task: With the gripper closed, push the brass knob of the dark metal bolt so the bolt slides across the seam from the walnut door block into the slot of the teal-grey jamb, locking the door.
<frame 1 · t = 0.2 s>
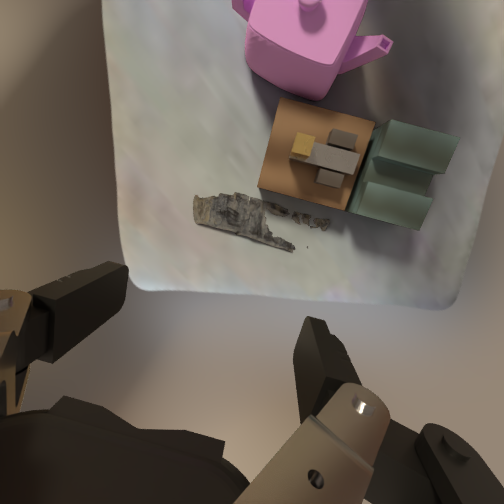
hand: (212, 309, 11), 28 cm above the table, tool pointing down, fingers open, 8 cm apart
driftwood: (257, 222, 39), on the table
door and jamb: (339, 168, 35), on the table
bolt: (325, 154, 28), point 7 cm above the table, slide at 0.0 cm
teapot: (301, 53, 32), on the table
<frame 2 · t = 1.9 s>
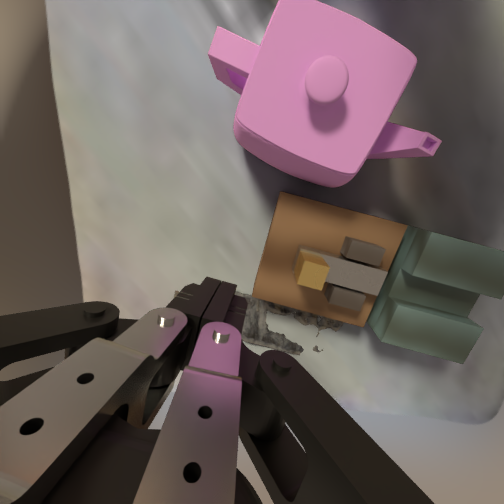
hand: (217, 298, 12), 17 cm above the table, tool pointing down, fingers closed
driftwood: (253, 318, 31), on the table
door and jamb: (355, 263, 28), on the table
bolt: (342, 275, 21), point 7 cm above the table, slide at 0.0 cm
teapot: (308, 125, 25), on the table
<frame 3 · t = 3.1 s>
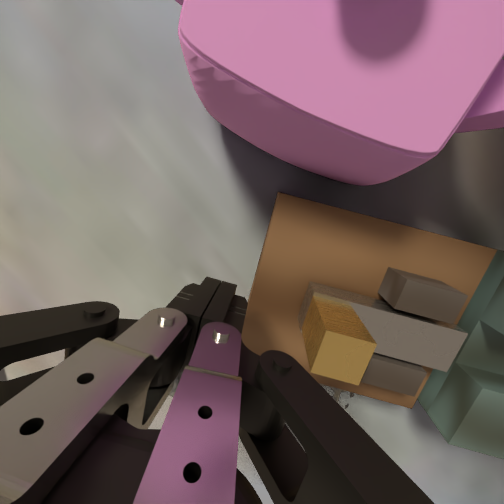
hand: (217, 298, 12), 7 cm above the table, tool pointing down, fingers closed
door and jamb: (393, 300, 18), on the table
bolt: (388, 342, 12), point 7 cm above the table, slide at 0.0 cm
teapot: (323, 86, 16), on the table
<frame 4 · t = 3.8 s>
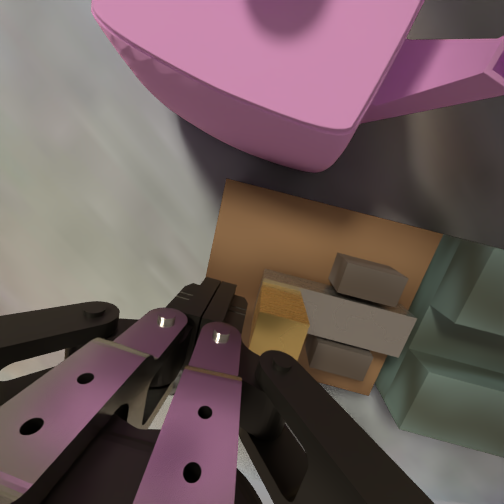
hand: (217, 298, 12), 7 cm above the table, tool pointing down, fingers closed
door and jamb: (355, 289, 18), on the table
bolt: (336, 326, 12), point 7 cm above the table, slide at 0.3 cm, touching gripper
teapot: (277, 74, 16), on the table
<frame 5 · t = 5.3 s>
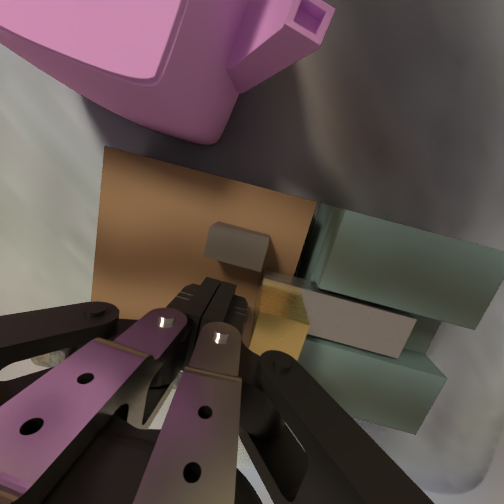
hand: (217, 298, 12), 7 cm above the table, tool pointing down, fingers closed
driftwood: (136, 346, 22), on the table
door and jamb: (265, 266, 18), on the table
bolt: (336, 327, 12), point 7 cm above the table, slide at 7.3 cm, touching gripper
teapot: (174, 48, 16), on the table
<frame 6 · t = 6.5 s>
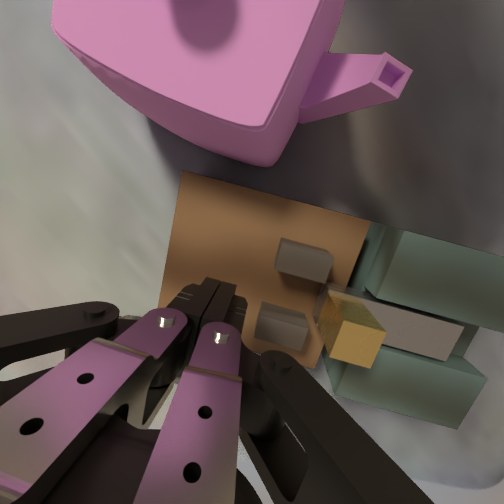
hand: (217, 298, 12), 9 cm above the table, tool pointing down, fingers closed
door and jamb: (309, 275, 20), on the table
bolt: (395, 333, 14), point 7 cm above the table, slide at 7.4 cm
teapot: (235, 80, 18), on the table
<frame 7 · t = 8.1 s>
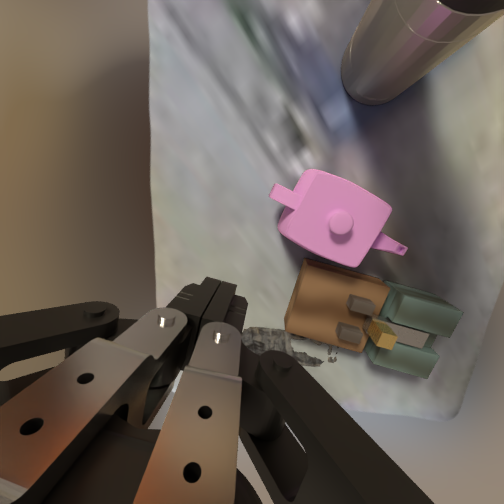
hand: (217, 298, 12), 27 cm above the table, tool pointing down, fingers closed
driftwood: (281, 344, 43), on the table
door and jamb: (356, 306, 40), on the table
bolt: (400, 336, 33), point 7 cm above the table, slide at 7.4 cm
teapot: (325, 216, 37), on the table
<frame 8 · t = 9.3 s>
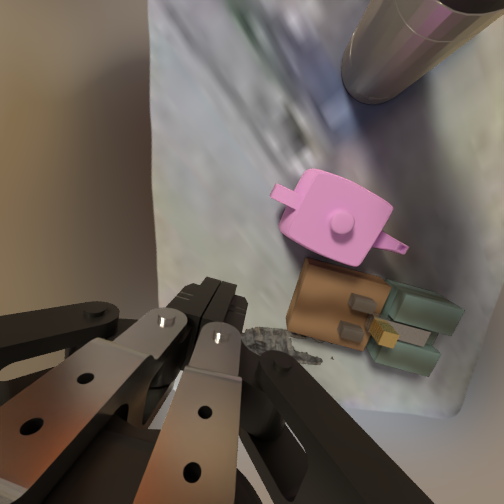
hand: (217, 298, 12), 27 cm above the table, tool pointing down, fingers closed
driftwood: (283, 343, 44), on the table
door and jamb: (357, 305, 40), on the table
bolt: (402, 335, 33), point 7 cm above the table, slide at 7.4 cm
teapot: (326, 215, 37), on the table
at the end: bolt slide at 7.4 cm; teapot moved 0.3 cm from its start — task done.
